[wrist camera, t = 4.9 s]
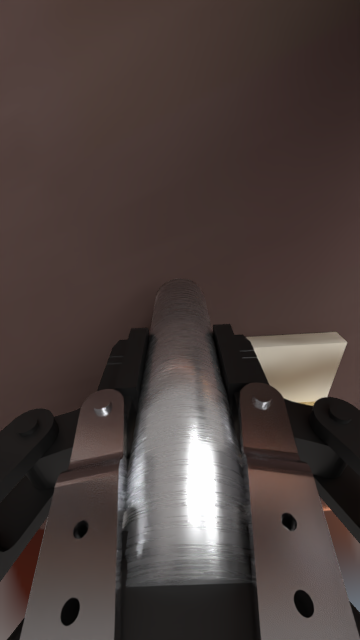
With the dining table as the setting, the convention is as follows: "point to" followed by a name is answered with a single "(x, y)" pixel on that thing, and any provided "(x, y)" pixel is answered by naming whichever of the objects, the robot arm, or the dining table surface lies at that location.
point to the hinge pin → (184, 456)
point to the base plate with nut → (300, 363)
